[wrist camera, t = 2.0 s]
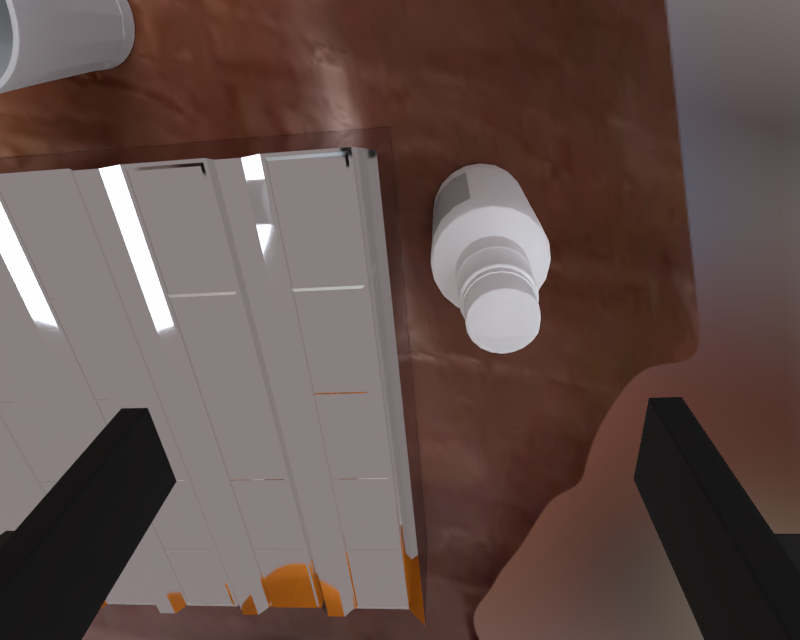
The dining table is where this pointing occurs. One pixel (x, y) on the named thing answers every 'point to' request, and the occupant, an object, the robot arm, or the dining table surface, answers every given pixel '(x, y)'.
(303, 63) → the dining table surface
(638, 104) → the dining table surface
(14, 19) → the cup
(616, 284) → the dining table surface
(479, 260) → the white bottle
